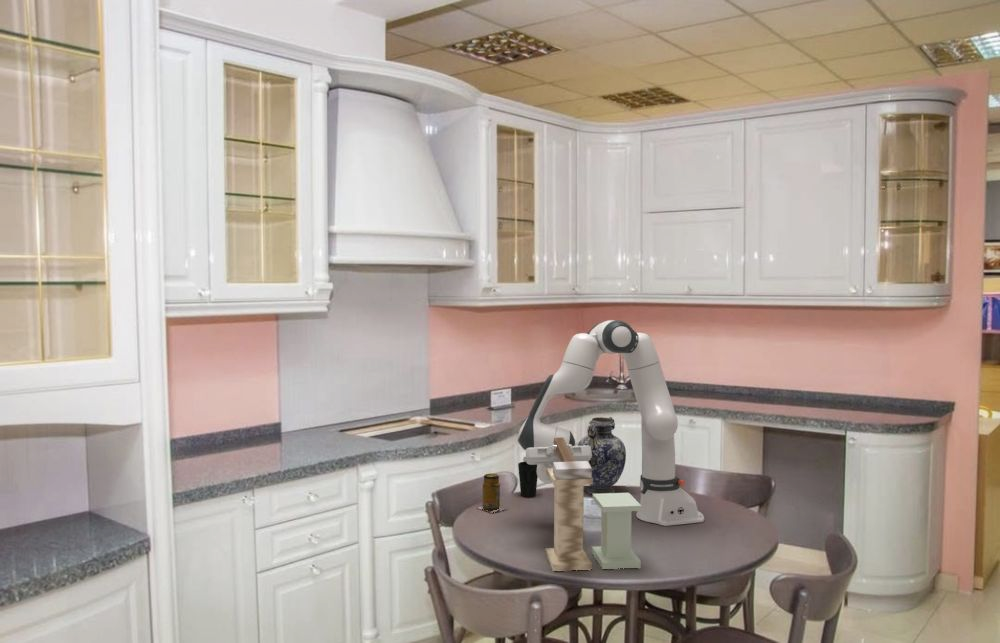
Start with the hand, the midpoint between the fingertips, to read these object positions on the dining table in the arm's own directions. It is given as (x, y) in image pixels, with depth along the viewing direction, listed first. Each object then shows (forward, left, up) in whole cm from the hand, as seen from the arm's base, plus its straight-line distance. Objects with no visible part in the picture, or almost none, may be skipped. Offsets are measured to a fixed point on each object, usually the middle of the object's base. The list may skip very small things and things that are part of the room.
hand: (562, 447), depth 234 cm
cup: (+2, -57, -31) cm, 65 cm away
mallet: (0, +5, -3) cm, 6 cm away
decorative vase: (-26, -59, -31) cm, 72 cm away
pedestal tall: (0, +11, -31) cm, 33 cm away
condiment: (+17, -42, -31) cm, 55 cm away
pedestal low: (-14, +11, -31) cm, 36 cm away
